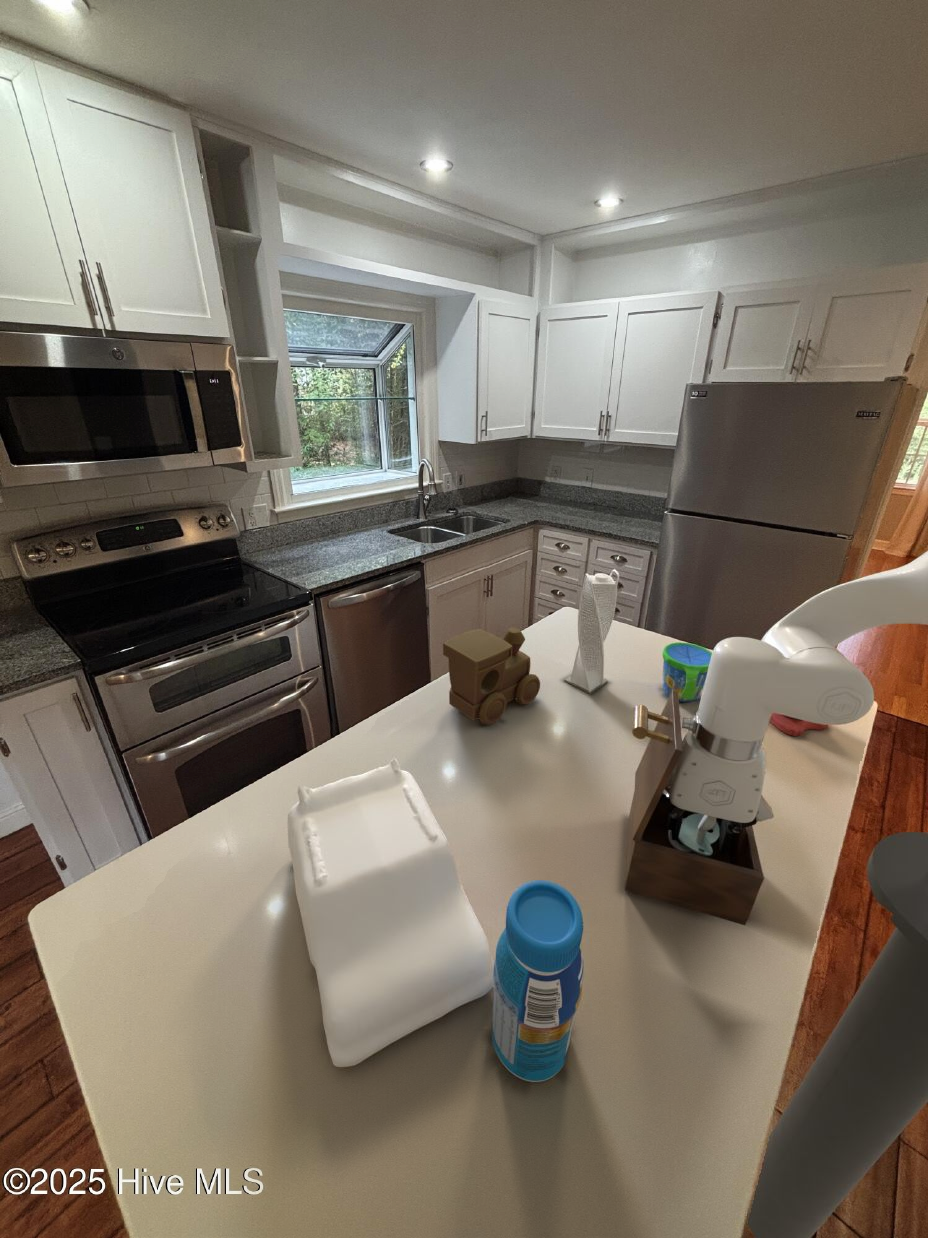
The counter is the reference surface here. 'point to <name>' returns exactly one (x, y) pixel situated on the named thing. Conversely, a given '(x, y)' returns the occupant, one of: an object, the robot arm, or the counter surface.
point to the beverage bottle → (537, 980)
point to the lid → (655, 758)
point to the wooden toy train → (489, 673)
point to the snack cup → (685, 669)
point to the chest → (694, 870)
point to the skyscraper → (593, 630)
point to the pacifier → (696, 834)
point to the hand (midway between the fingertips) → (697, 838)
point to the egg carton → (382, 911)
